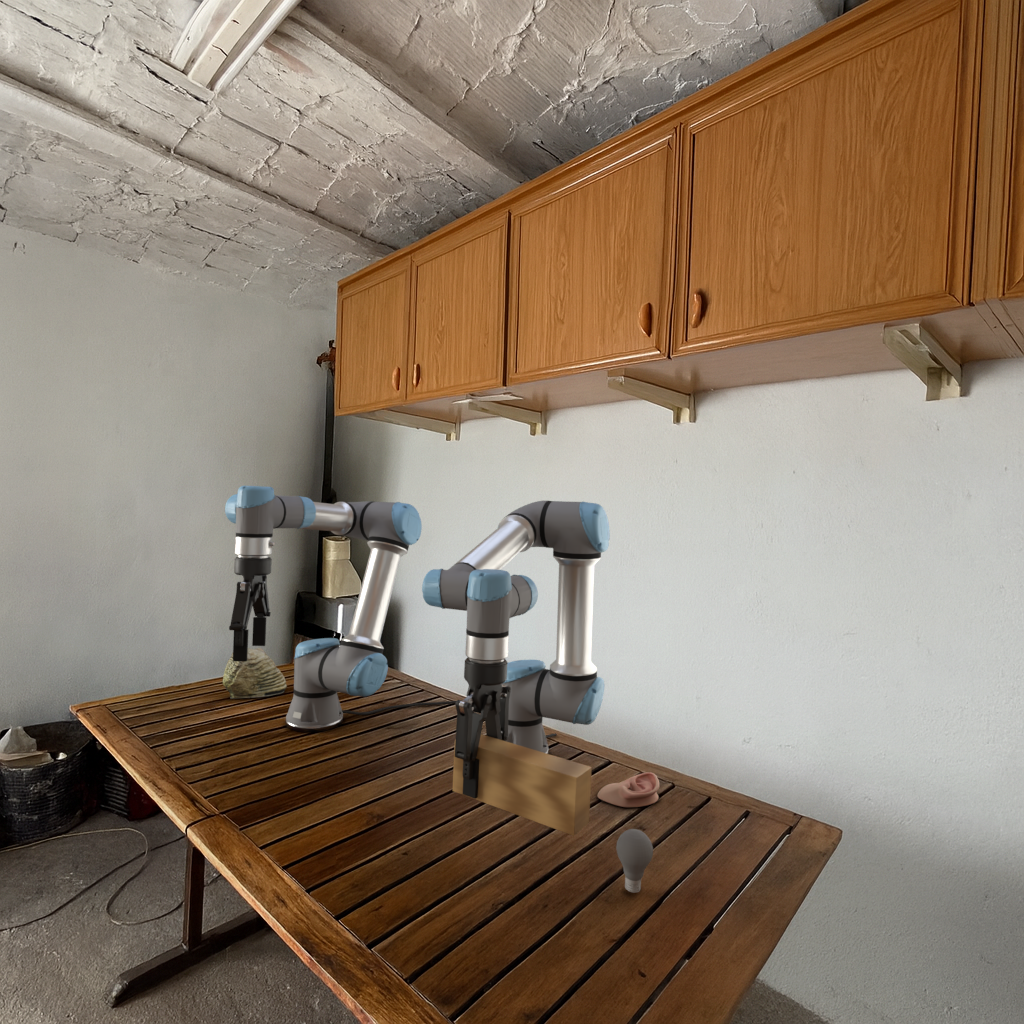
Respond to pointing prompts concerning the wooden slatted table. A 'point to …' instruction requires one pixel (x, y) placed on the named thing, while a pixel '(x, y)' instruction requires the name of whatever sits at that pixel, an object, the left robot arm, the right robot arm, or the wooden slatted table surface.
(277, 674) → the fossil
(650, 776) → the anatomical model
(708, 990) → the wooden slatted table surface
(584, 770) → the bar
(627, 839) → the light bulb
